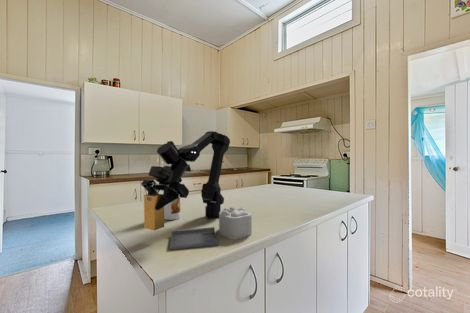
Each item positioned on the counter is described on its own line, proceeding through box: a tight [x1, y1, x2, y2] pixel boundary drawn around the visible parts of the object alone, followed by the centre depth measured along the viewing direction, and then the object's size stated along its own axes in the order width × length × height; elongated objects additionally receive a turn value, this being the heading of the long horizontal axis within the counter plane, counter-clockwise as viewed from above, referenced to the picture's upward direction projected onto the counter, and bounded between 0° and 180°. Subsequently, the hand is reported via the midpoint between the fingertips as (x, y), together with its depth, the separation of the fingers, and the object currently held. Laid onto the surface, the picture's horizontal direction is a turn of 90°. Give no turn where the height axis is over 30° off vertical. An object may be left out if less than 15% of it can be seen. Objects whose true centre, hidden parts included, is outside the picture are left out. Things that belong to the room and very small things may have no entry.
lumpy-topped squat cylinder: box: [218, 206, 253, 240], centre depth 83 cm, size 10×13×9 cm
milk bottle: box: [162, 191, 181, 221], centre depth 102 cm, size 8×8×20 cm
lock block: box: [143, 193, 165, 231], centre depth 74 cm, size 4×5×11 cm
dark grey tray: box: [169, 226, 220, 251], centre depth 74 cm, size 15×12×2 cm
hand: (150, 208), depth 73 cm, fingers closed on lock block, 5 cm apart
